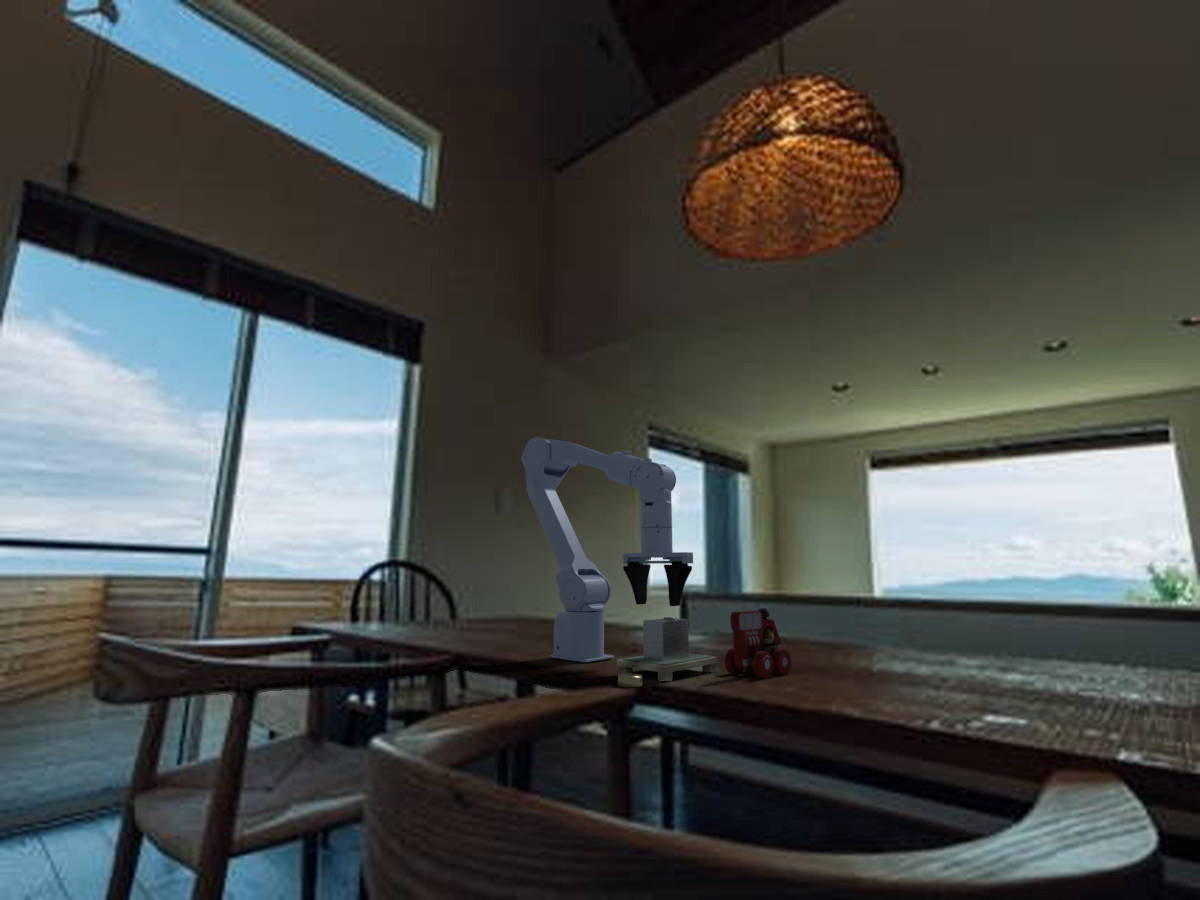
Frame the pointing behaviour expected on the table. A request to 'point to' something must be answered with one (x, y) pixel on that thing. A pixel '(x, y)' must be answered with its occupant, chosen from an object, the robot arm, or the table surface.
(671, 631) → the housing
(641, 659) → the stand
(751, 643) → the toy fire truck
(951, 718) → the table surface
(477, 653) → the table surface
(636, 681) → the brass nut
